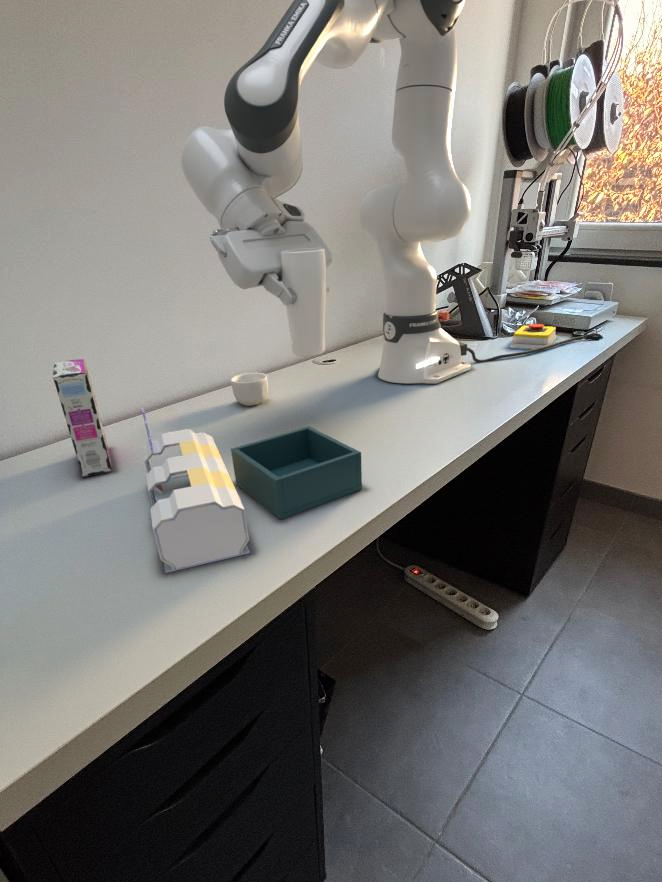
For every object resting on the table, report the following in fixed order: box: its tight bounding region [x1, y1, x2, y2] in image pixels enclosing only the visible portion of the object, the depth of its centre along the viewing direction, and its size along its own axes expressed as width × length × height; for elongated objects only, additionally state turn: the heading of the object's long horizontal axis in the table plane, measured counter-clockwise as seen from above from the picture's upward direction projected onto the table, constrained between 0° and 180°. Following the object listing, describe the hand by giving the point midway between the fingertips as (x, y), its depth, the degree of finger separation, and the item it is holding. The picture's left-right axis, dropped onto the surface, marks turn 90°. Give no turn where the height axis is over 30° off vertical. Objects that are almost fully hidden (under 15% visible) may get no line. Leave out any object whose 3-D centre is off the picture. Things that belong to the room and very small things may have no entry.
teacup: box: [230, 372, 269, 407], centre depth 113 cm, size 10×8×5 cm
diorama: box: [141, 407, 251, 574], centre depth 69 cm, size 25×10×13 cm, turn 19°
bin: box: [230, 425, 363, 521], centre depth 77 cm, size 14×14×6 cm
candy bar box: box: [52, 358, 113, 478], centre depth 86 cm, size 11×5×16 cm, turn 23°
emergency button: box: [509, 323, 557, 350], centre depth 144 cm, size 9×4×15 cm
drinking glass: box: [280, 248, 328, 357], centre depth 82 cm, size 7×7×15 cm
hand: (308, 297), depth 81 cm, fingers closed on drinking glass, 6 cm apart
